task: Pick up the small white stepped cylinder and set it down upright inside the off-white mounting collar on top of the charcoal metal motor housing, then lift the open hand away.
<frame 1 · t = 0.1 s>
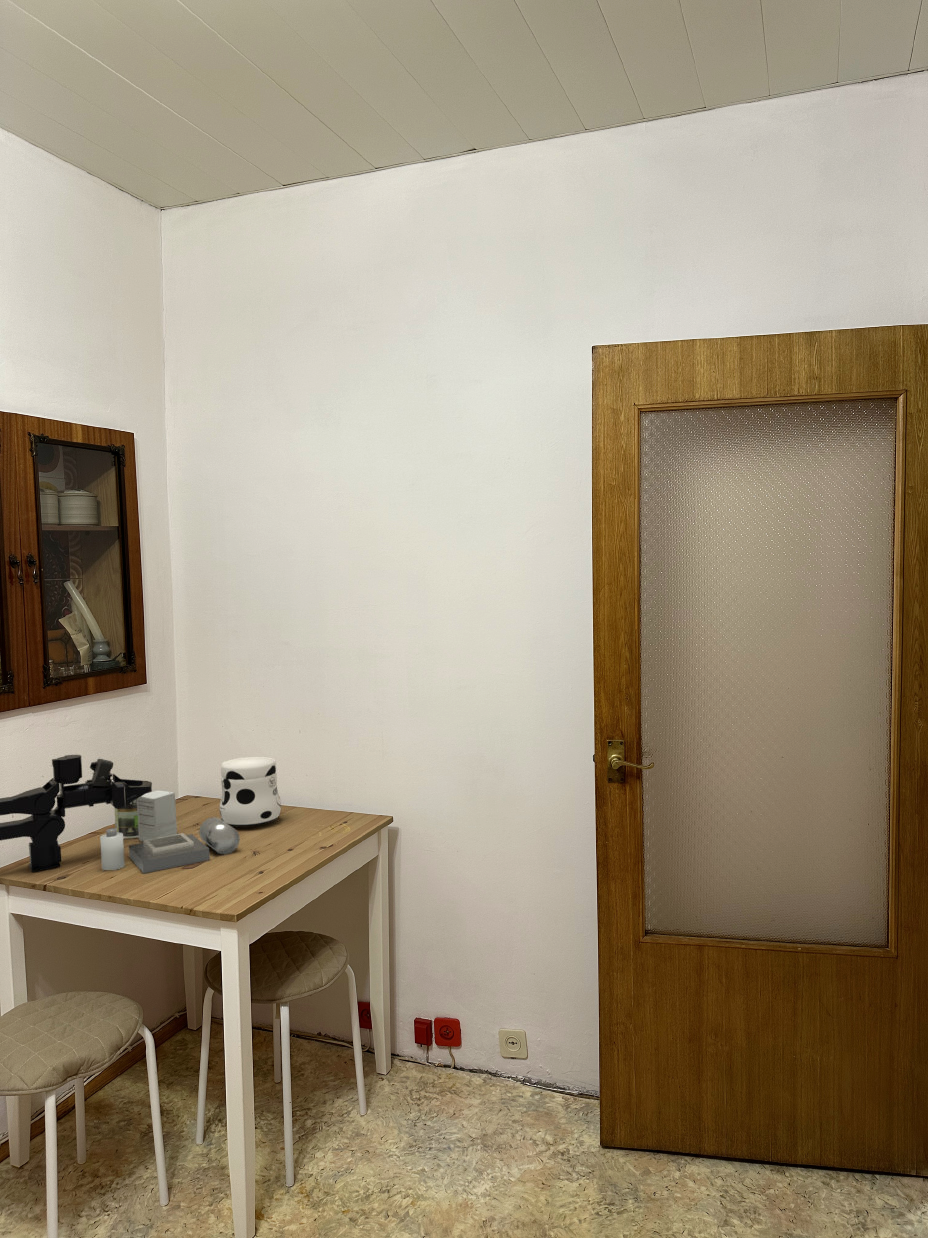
hand: (146, 785, 227), 17 cm above the table, tool horizontal, fingers open, 9 cm apart
coffee can: (135, 834, 241), on the table
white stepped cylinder: (113, 867, 212), on the table
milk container: (251, 823, 248), on the table
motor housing: (169, 858, 217), on the table
supplement box: (158, 840, 235), on the table
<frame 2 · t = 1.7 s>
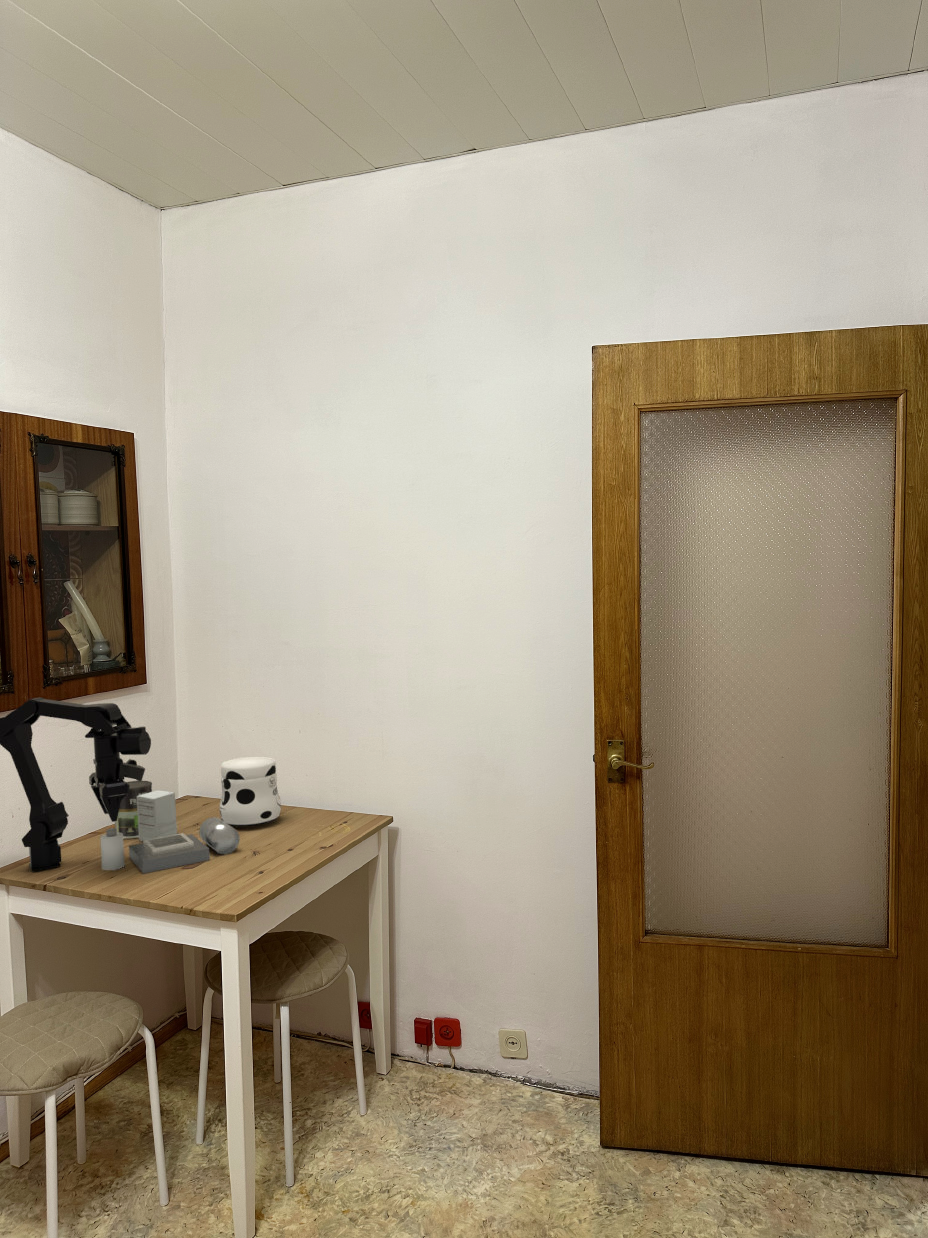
hand: (110, 817, 212), 12 cm above the table, tool pointing down, fingers open, 9 cm apart
nothing on the table moved.
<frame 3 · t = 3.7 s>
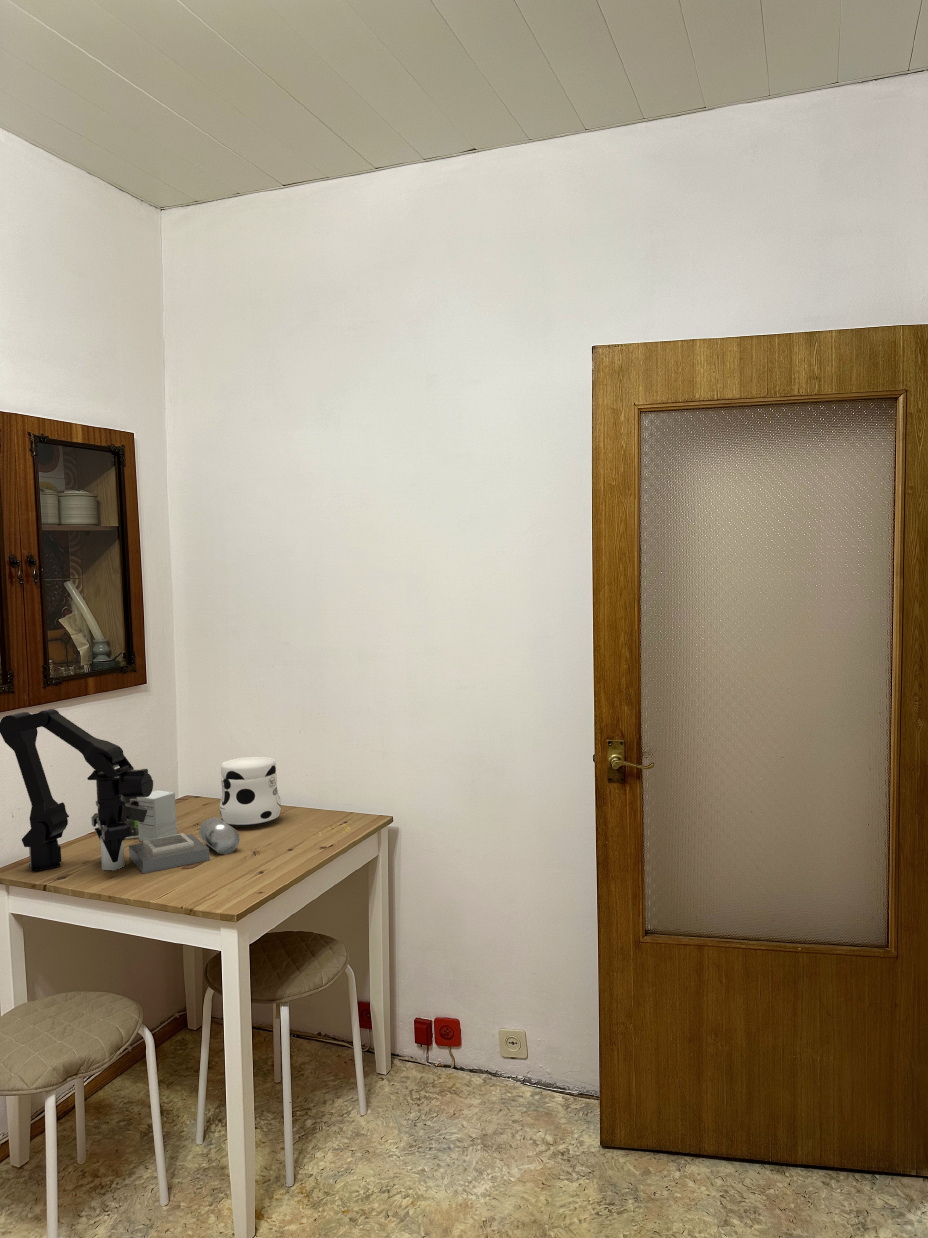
hand: (112, 859, 212), 2 cm above the table, tool pointing down, fingers closed on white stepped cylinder, 5 cm apart
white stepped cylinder: (113, 867, 212), on the table, touching gripper
everything else where it was.
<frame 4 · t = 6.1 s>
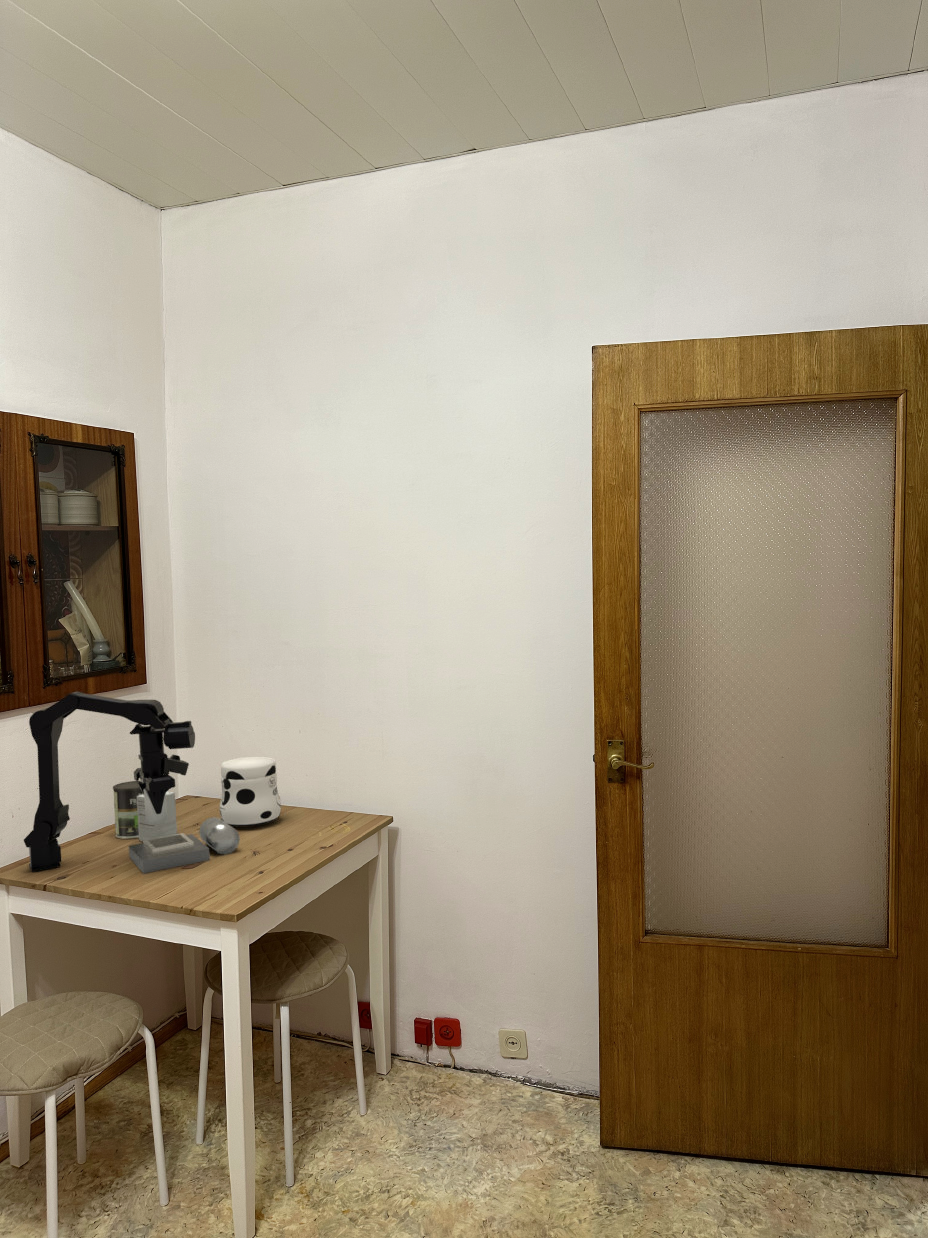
hand: (156, 811, 216), 12 cm above the table, tool pointing down, fingers closed on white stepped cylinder, 5 cm apart
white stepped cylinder: (156, 819, 216), point 10 cm above the table, touching gripper
everything else where it was.
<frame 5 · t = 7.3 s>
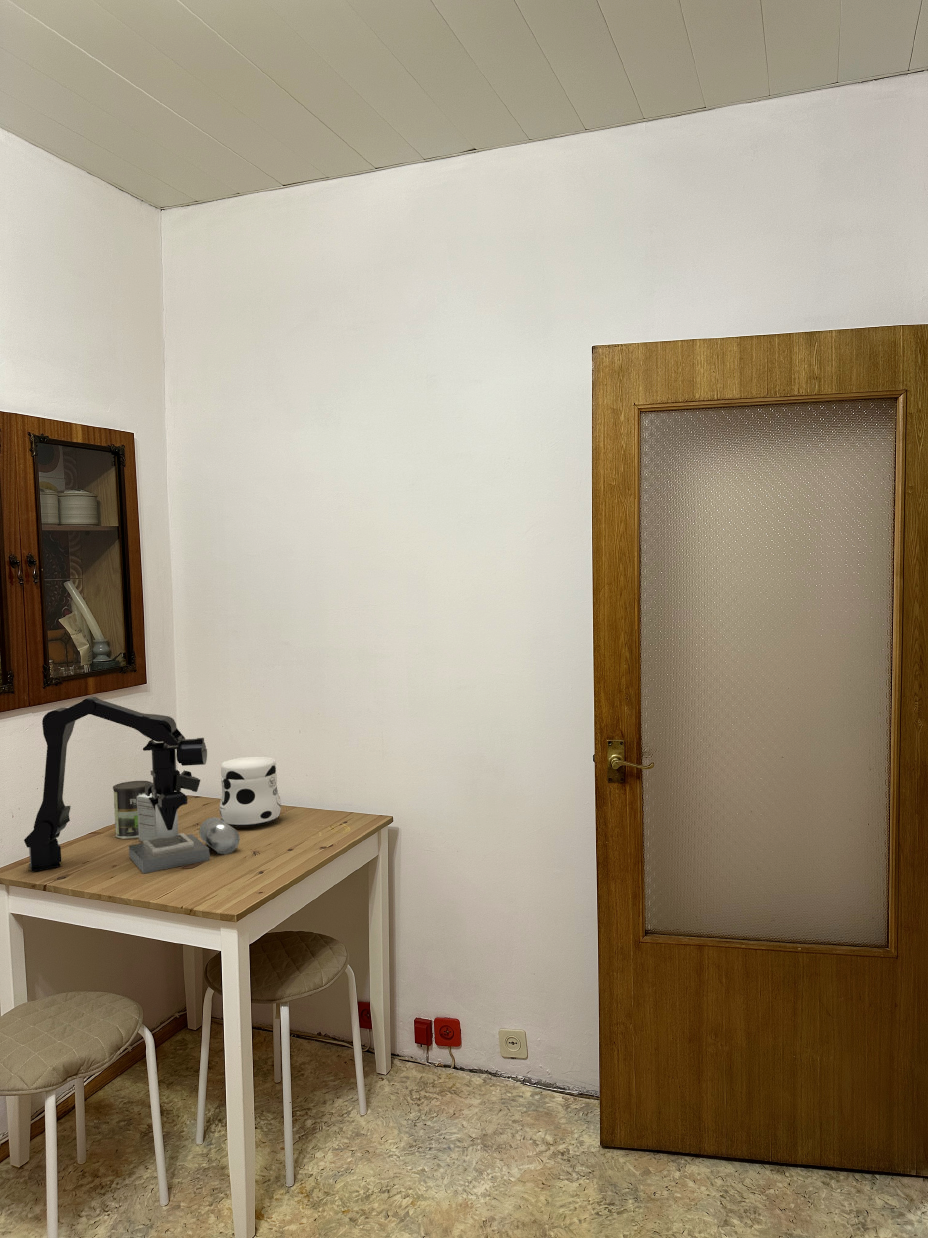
hand: (167, 827, 217), 8 cm above the table, tool pointing down, fingers closed on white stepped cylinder, 5 cm apart
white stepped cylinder: (167, 835, 217), point 6 cm above the table, touching gripper
everything else where it was.
when the fingers open (6 cm above the table, at t = 8.5 s): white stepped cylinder drops 1 cm, resting on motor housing.
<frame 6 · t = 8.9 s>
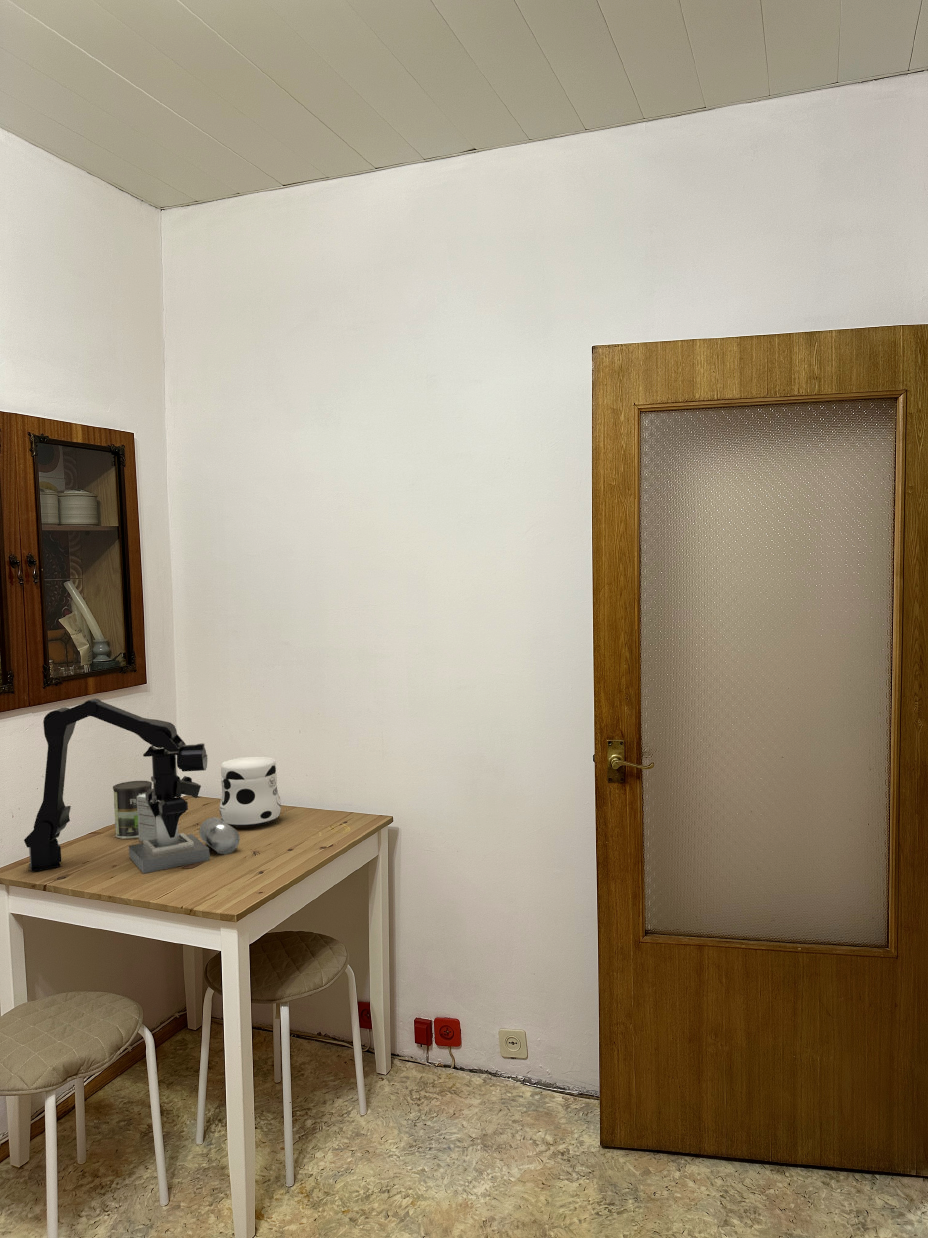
hand: (167, 833, 217), 6 cm above the table, tool pointing down, fingers open, 9 cm apart
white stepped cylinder: (168, 847, 217), point 3 cm above the table, touching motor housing
everything else where it was.
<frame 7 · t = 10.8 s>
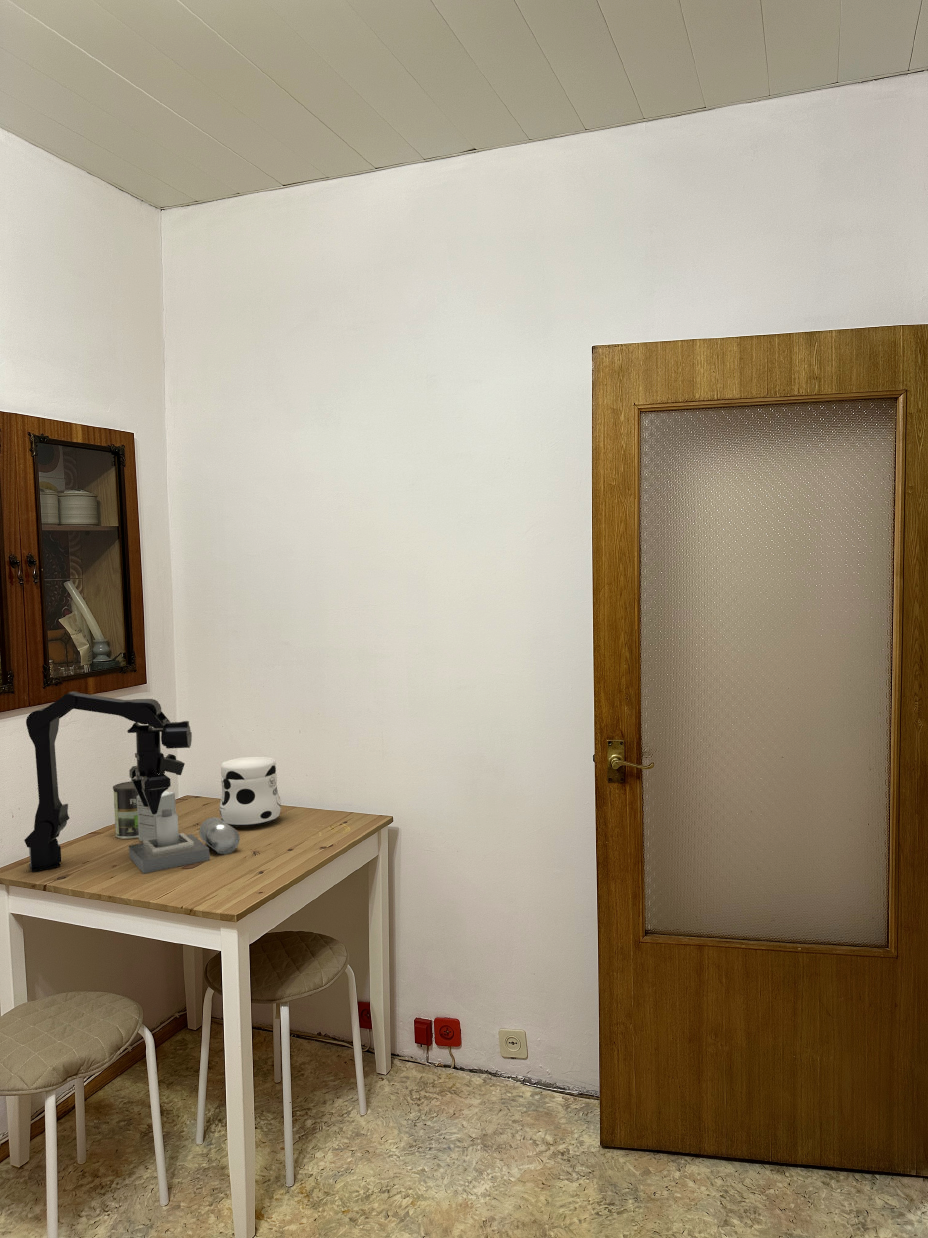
hand: (150, 810, 217), 12 cm above the table, tool pointing down, fingers open, 9 cm apart
nothing on the table moved.
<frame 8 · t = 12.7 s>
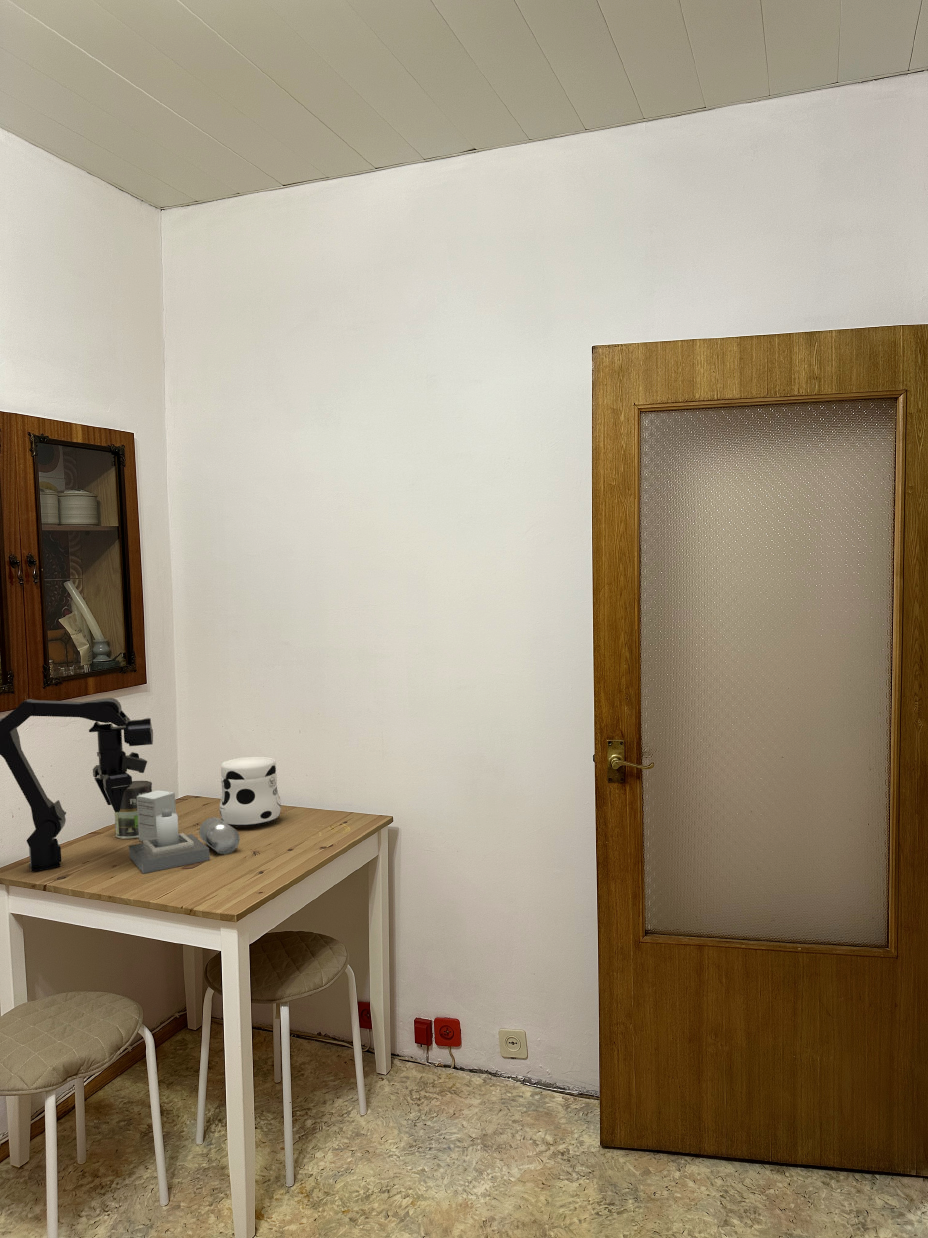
hand: (113, 808, 218), 13 cm above the table, tool pointing down, fingers open, 9 cm apart
nothing on the table moved.
at the end: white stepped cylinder 0.1 cm off-centre on the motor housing, point 3.0 cm above the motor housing's base; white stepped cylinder tilted 0°; the gripper is holding nothing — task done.
